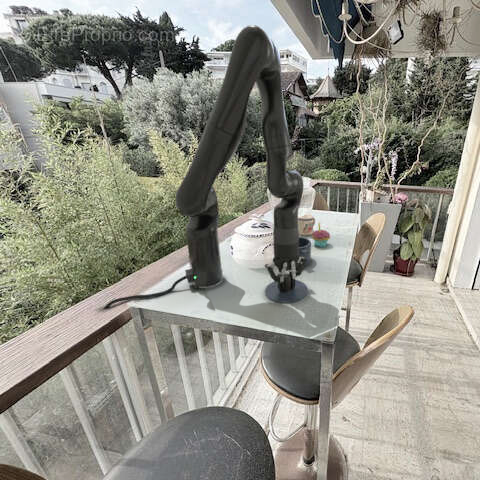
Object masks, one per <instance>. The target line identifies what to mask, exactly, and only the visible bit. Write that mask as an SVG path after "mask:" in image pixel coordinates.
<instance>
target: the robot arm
mask: <svg viewBox="0 0 480 480" xmlns="http://www.w3.org/2000/svg"><path fill="white" fill-rule="evenodd" d="M227 63H228V64H227V67H226V70H225V74H224V78H223V80H222V83H221V86H220V89H219V91H218V94H217V97H216V99H215V102H214V105H213V107H212V110H211V112H210V114H209V116H208V119H207V122H206V124H205V126H204V129H203V132H202V133H201V137H200V140H199V142H198V146H197V148H196V150H195V153H194V156H193V159H192V161H191V164H190V166H189V168H188V170H187V171H186V174H185V176H184V178H183V180H182V181H181V183H180V185H179V187H178V188H177V191H176V192H175V198H174V202H175V206H176V209H177V210H178V211H179V213H180V214H181V215H182V216H185V217H188V222H187V223H186V226H185V229H184V232H185V239H186V244H187V250H188V263H189V268H188V269H185V270H184V271H185V275H184V276H182V277H180V278H179V279H176V281H174V283H173V284H172V285H171V287H170V288H168V289H166V290H164V291H160V292H155V293H149V294H136V295H130V296H123V297H119V298H114V299H112V300H111V301H109V302H108V303H107V304H106V305H105V306H104V307H103V308H102V309H103V310H107V309H109V308H110V307H111V306H112V305H113V304H116V303H119V302H123V301H128V300H134V299H148V298H149V299H150V298H153V297H159V296H163V295H166V294H168V293H170V292H172V291H174V290H175V288H176V286H177V285H178V284H179V283H181V282H182V281H184V280H187V283H188V284H191V283H192V285H193V287H194V289H195V290H198V289H201V290H203V289H205V290H206V289H207V288H208V289H209V288H213V287H216V286H219V285H220V284H221V283H222V282H223V280H224V276H223V272H224V271H223V267H222V259H221V250H220V240H219V231H218V230H219V229H218V228H219V222H220V216H219V200H218V195H217V193H216V190H215V189H214V184H215V181H216V180H217V178H218V177H219V175H220V173H222V171H224V169H225V167H227V165H228V164H229V162H230V161H231V160H232V158H233V157H234V155H235V153H236V152H237V150H238V148H239V145H240V143H241V142H242V139H243V137H244V135H245V132H246V131H245V130H246V127H247V118H248V117H247V116H248V115H247V113H248V105H249V99H250V95H251V94H252V90H253V89H254V87H255V84H256V86H257V89H258V92H259V97H260V105H261V107H260V108H261V109H260V111H261V114H260V115H261V116H260V130H261V131H260V132H261V136H262V141H263V146H264V151H265V155H266V163H265V165H266V166H265V183H266V187H267V190H268V191H269V193H270V194H271V196H273V198H276V199H281V200H280V201H279V203H278V204H276V205H275V206H274V208H273V229H272V230H273V231H272V232H273V233H272V236H273V237H272V239H273V241H272V242H273V258H272V262H270V263H266V264H265V265H264V268H265V270H266V271H267V273H268V274H269V276H270V278H271V279H272V280H273V282H274V281H275V282H278V289H279V290H280V291H281V292H284V276H285V274H287V273H286V272H288V274H290V275H291V289H294V287H295V280H296V278H297V277H300V276H301V275H302V273H303V270H304V268H305V263H306V261H307V260H306V259H305V258H304V257H303V256H301V257H299V255H298V253H299V237H300V235H299V230H298V215H299V209H300V206H301V202H302V197H303V193H304V180H303V177H302V175H301V174H300V172H299V171H298V170H295V169H287V162H288V161H289V160H291V159H292V157H293V148H292V142H291V138H290V132H289V128H288V127H289V126H288V123H287V117H286V110H285V103H284V94H283V81H282V80H283V79H282V58H281V53H280V50H279V48H278V46H277V44H276V43H275V42H274V41H273V39H272V38H271V37H270V36H269V35H268V34H267V32H265V30H264V29H263V28H261V27H260V26H258V25H254V24H250V25H246V26H245V27H243V29H241V30H240V32H238V34H237V36H236V38H235V40H234V42H233V46H232V49H231V52H230V57H229V60H228V62H227ZM297 262H298V263H297ZM296 263H297V265H296ZM295 265H296V267H295ZM275 267H276V272H277V273H275Z"/></svg>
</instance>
